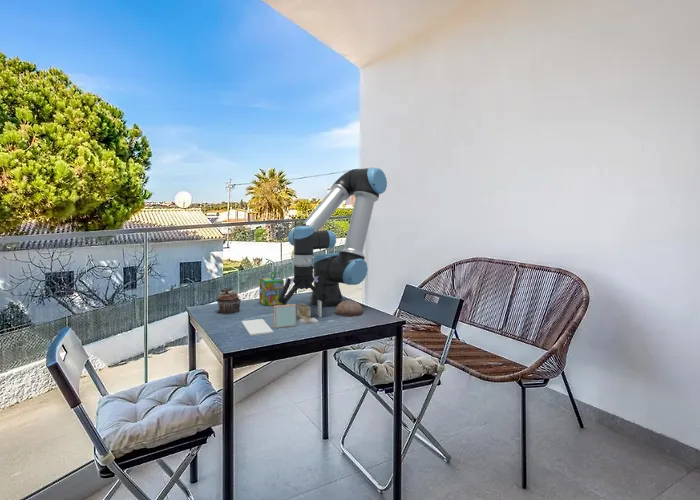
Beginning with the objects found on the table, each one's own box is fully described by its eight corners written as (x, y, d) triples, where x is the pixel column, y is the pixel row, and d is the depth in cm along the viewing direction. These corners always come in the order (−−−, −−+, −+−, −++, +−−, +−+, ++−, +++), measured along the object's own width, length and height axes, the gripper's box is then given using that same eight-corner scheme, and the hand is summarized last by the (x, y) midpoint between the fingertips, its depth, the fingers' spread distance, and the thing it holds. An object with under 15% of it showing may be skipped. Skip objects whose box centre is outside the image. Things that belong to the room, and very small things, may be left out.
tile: (295, 324, 153) (294, 304, 152) (296, 326, 152) (296, 305, 151) (274, 327, 150) (273, 305, 149) (275, 328, 148) (274, 306, 148)
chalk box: (259, 302, 190) (258, 271, 188) (278, 300, 194) (277, 269, 193) (264, 306, 182) (264, 274, 180) (284, 304, 186) (284, 272, 185)
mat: (262, 320, 159) (262, 318, 159) (273, 333, 142) (273, 331, 142) (241, 322, 156) (241, 321, 156) (250, 335, 139) (250, 334, 139)
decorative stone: (333, 310, 177) (333, 298, 176) (361, 309, 178) (361, 297, 177) (335, 317, 165) (335, 304, 164) (365, 316, 166) (365, 303, 166)
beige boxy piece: (307, 314, 168) (307, 303, 167) (318, 322, 156) (318, 310, 156) (293, 316, 165) (293, 304, 165) (303, 324, 154) (303, 311, 153)
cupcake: (239, 314, 169) (239, 290, 168) (215, 314, 167) (214, 290, 166) (242, 308, 178) (241, 286, 177) (219, 309, 177) (218, 286, 176)
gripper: (274, 267, 152) (274, 323, 154) (336, 265, 162) (336, 317, 164) (269, 265, 159) (270, 318, 161) (329, 262, 169) (329, 312, 171)
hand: (303, 318), depth 162 cm, fingers open, 13 cm apart
